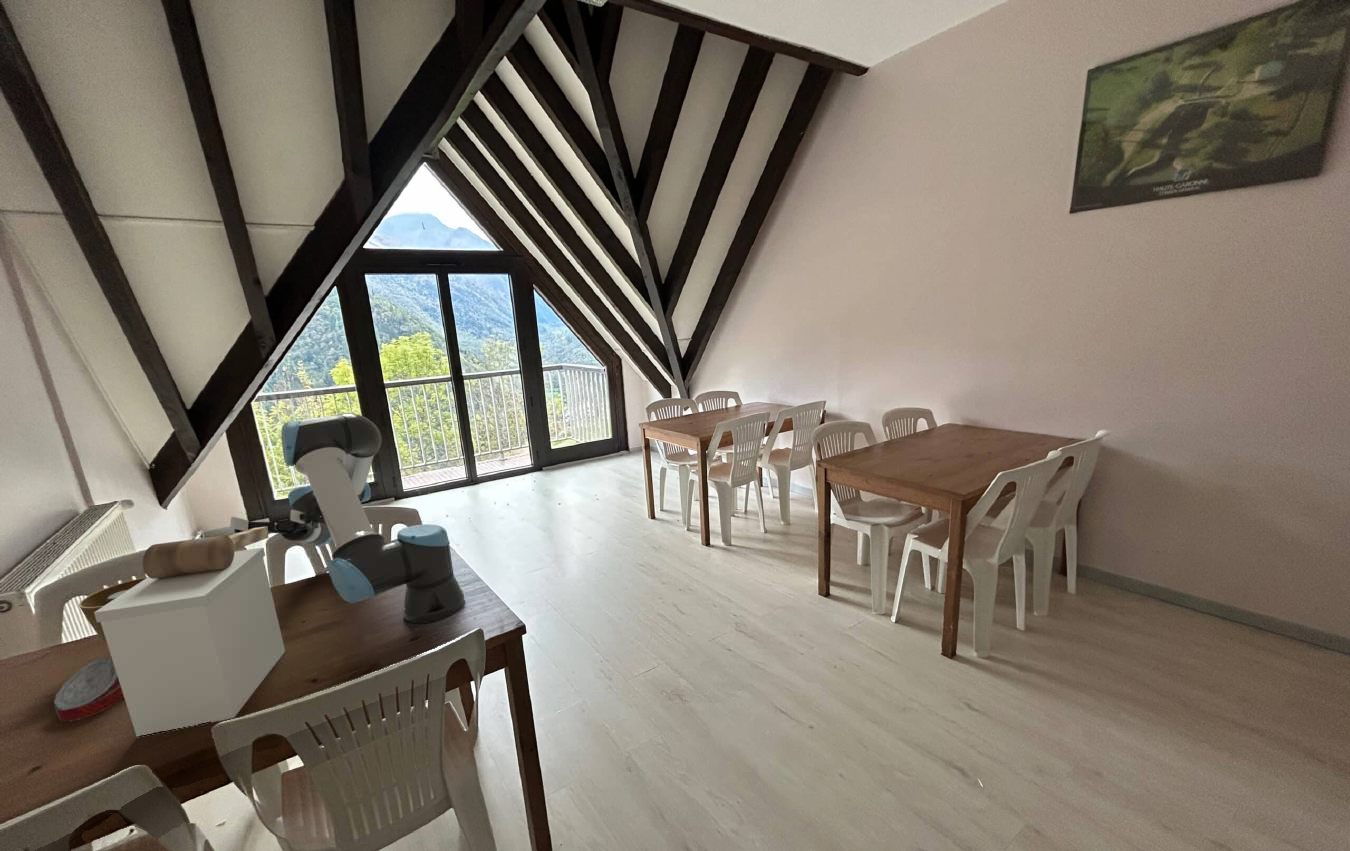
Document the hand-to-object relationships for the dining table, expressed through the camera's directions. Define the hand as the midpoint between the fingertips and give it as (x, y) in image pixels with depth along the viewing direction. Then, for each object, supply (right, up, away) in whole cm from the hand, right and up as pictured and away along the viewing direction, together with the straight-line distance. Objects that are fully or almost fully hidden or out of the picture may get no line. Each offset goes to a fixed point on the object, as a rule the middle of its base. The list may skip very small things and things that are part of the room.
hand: (262, 518), depth 134 cm
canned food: (-15, -35, -26) cm, 46 cm away
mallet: (+5, -7, -16) cm, 18 cm away
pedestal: (+10, -33, -23) cm, 42 cm away
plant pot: (-24, -31, -7) cm, 40 cm away
